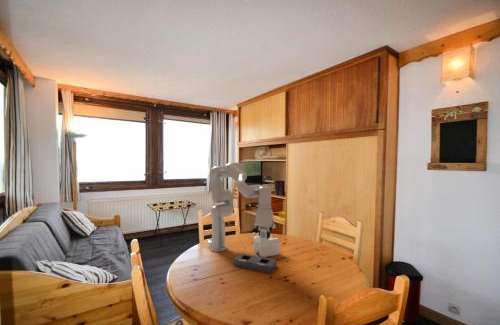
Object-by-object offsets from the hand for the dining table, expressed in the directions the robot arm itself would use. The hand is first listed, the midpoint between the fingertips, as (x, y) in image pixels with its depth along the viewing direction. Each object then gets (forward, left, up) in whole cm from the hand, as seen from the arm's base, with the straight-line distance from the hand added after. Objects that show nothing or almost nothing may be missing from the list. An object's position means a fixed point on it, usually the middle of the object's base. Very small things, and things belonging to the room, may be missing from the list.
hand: (264, 237), depth 138 cm
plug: (0, 0, -5) cm, 5 cm away
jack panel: (-6, 0, -18) cm, 19 cm away
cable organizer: (-6, +20, -19) cm, 28 cm away
